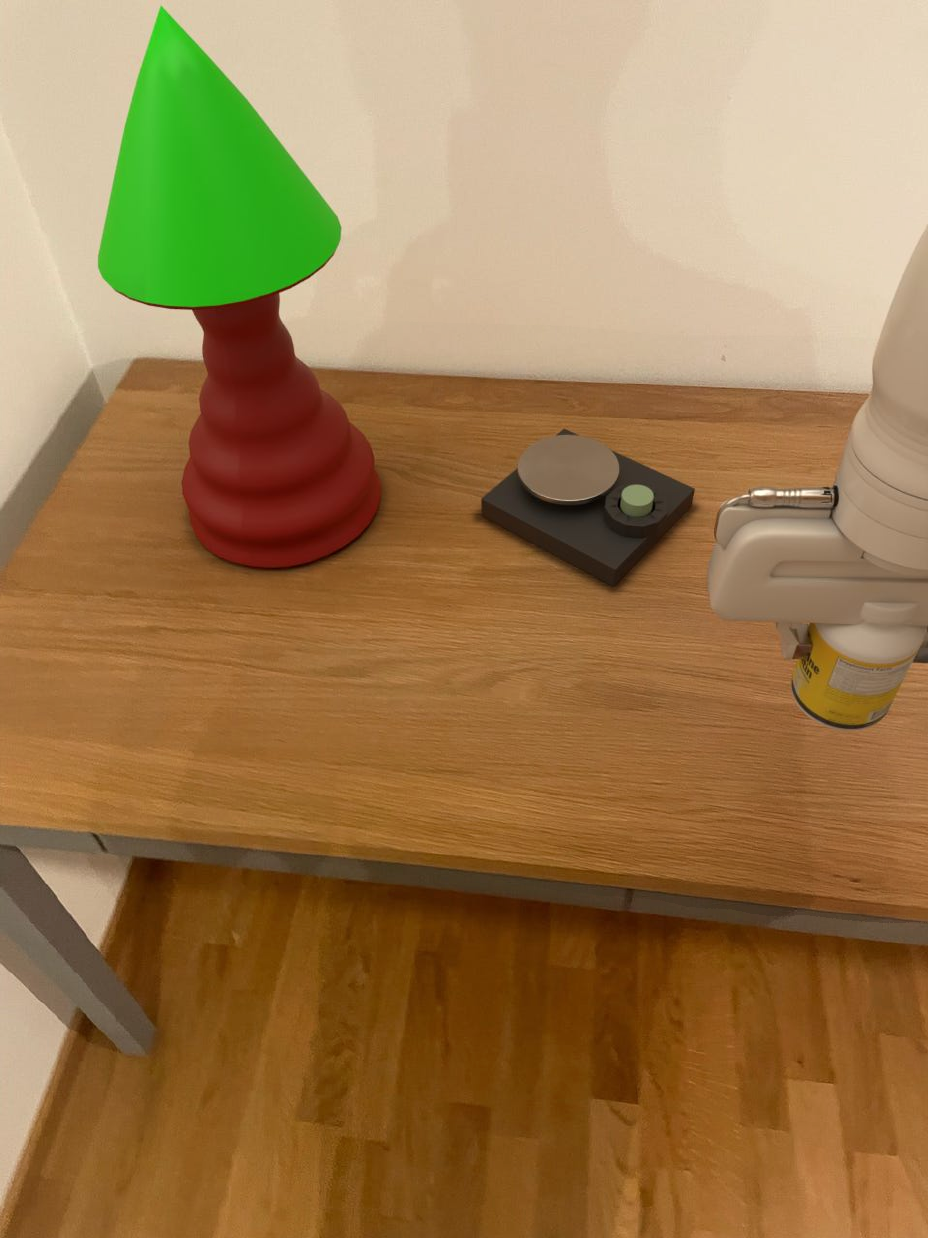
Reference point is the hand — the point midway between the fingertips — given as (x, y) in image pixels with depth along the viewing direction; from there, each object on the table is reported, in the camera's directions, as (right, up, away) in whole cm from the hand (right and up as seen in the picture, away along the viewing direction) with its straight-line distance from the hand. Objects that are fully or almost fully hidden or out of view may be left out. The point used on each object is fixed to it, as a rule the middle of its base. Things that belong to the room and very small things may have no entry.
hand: (856, 653), depth 59 cm
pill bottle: (0, -3, +4) cm, 5 cm away
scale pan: (-15, +17, +32) cm, 39 cm away
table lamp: (-44, +14, +37) cm, 59 cm away
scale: (-13, +13, +34) cm, 39 cm away
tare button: (-9, +13, +29) cm, 33 cm away
